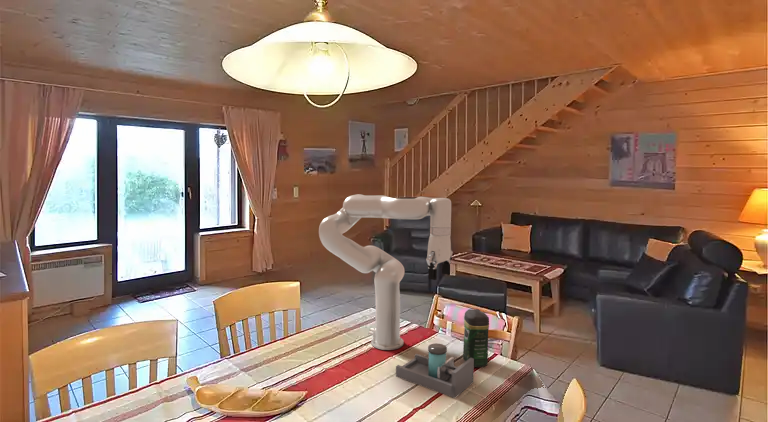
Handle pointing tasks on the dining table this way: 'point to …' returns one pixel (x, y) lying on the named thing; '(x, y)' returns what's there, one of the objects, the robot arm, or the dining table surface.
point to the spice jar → (436, 358)
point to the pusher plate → (445, 369)
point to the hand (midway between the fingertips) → (439, 276)
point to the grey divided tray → (419, 375)
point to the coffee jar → (476, 337)
